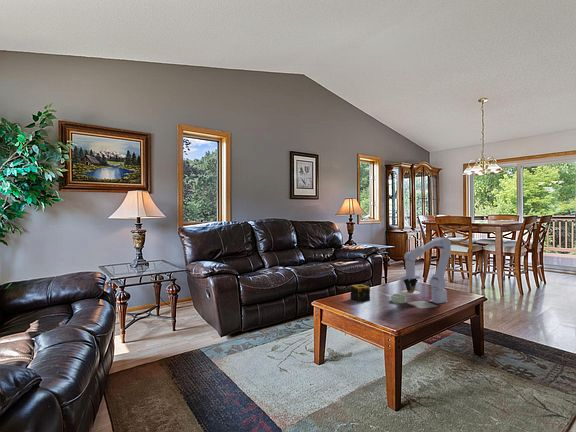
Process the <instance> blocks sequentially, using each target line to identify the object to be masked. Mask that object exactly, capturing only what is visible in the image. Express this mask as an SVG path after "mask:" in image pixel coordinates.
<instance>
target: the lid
mask: <svg viewBox="0 0 576 432" xmlns="http://www.w3.org/2000/svg"><path fill="white" fill-rule="evenodd" d="M400 294H403V295H406V296H407V295H408V296H418V295H420V294H421V292H420V291H418V290H415V288H414V286H411V285H410V291H408V290H407V289H405V290H401V291H400Z"/></svg>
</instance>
